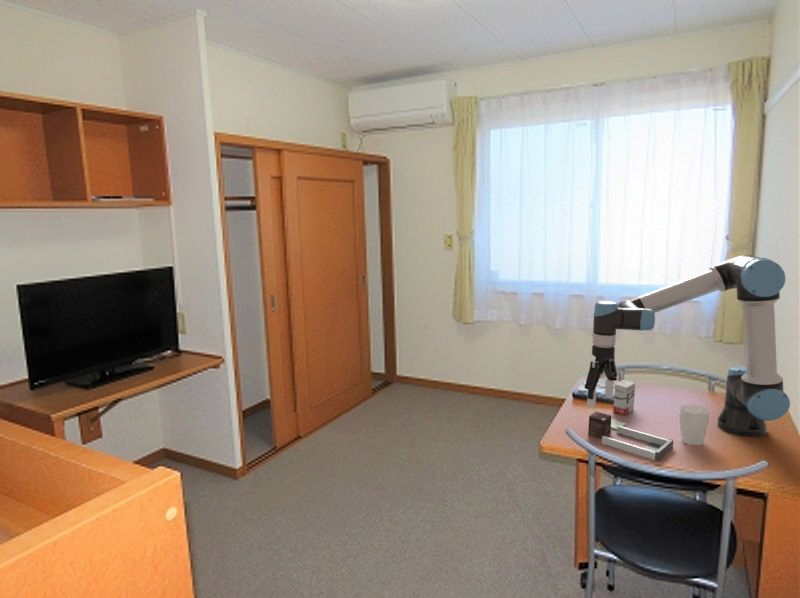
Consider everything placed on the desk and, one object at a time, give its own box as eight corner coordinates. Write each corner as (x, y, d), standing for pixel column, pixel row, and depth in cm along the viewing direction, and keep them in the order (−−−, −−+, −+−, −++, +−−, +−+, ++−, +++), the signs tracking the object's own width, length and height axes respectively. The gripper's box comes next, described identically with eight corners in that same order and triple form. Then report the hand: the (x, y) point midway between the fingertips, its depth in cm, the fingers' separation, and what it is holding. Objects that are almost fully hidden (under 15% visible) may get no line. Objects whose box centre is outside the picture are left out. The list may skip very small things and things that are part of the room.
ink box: (625, 415, 209) (626, 387, 207) (612, 412, 213) (614, 384, 210) (634, 409, 215) (635, 381, 213) (622, 406, 218) (623, 379, 216)
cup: (706, 449, 179) (709, 416, 177) (676, 444, 184) (678, 411, 182) (707, 439, 187) (710, 407, 185) (678, 434, 192) (681, 402, 190)
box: (594, 429, 197) (595, 411, 196) (611, 434, 193) (611, 415, 192) (587, 435, 193) (588, 416, 191) (604, 439, 189) (605, 420, 187)
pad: (626, 424, 201) (626, 423, 200) (617, 430, 196) (618, 429, 196) (608, 419, 206) (608, 418, 205) (599, 425, 201) (599, 423, 201)
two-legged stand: (672, 448, 181) (673, 439, 181) (657, 461, 172) (658, 452, 172) (618, 431, 195) (618, 424, 194) (601, 443, 186) (602, 435, 185)
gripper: (609, 336, 198) (605, 390, 202) (576, 350, 181) (573, 408, 185) (629, 340, 193) (625, 395, 197) (597, 354, 176) (593, 414, 180)
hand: (600, 402), depth 191 cm, fingers open, 13 cm apart
